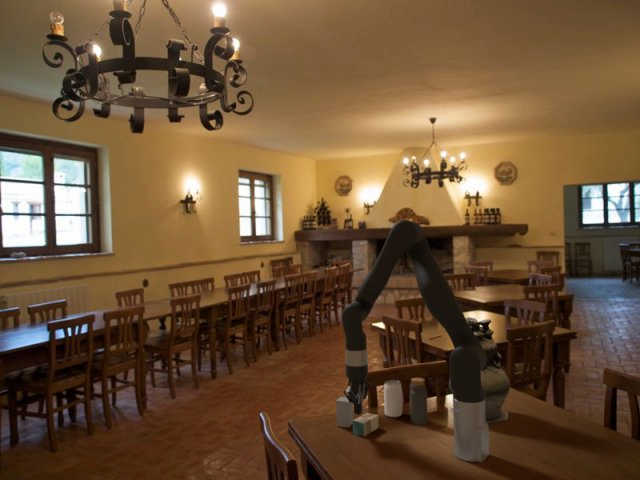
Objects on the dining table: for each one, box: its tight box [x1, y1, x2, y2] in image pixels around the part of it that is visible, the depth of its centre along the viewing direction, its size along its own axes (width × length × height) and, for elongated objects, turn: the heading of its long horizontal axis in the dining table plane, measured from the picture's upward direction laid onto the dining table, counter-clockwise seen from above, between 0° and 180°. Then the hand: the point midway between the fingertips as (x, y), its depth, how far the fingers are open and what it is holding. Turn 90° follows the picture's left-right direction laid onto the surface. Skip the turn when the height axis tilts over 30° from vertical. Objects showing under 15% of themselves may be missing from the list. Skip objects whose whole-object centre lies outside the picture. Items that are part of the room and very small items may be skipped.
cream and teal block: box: [352, 412, 379, 438], centre depth 169 cm, size 4×4×9 cm
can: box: [383, 379, 403, 418], centre depth 184 cm, size 6×6×12 cm
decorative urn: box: [448, 316, 511, 424], centre depth 180 cm, size 21×21×35 cm
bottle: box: [409, 377, 428, 426], centre depth 176 cm, size 6×6×15 cm
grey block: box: [335, 396, 354, 428], centre depth 175 cm, size 4×4×9 cm
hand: (358, 413), depth 166 cm, fingers closed
